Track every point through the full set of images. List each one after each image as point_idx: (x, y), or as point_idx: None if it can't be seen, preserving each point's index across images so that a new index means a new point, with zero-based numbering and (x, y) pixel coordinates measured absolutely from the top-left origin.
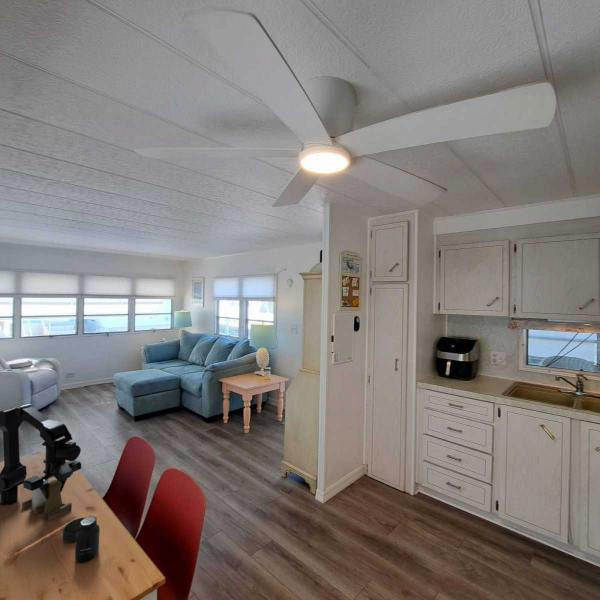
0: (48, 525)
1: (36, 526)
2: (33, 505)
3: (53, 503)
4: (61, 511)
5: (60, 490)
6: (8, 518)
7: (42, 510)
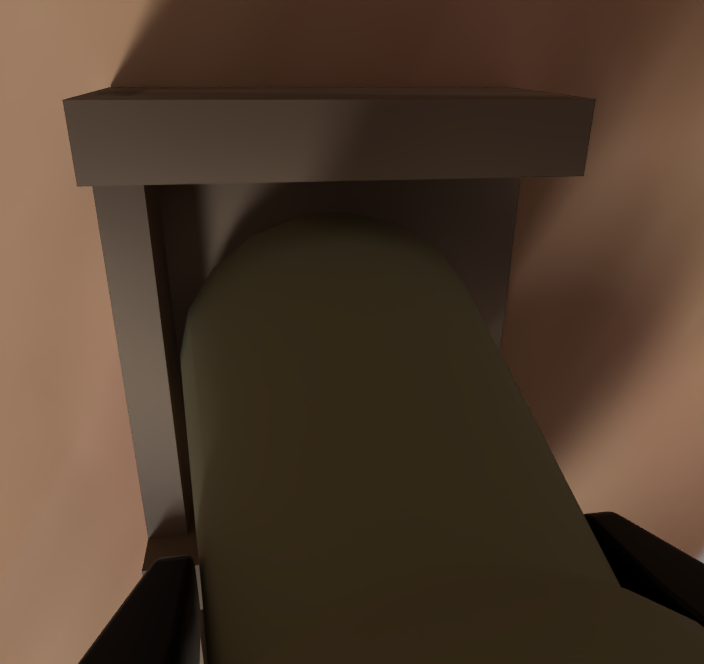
0: (560, 49)
1: (629, 214)
2: None
3: (451, 325)
4: (327, 94)
5: (190, 606)
6: None
7: None
